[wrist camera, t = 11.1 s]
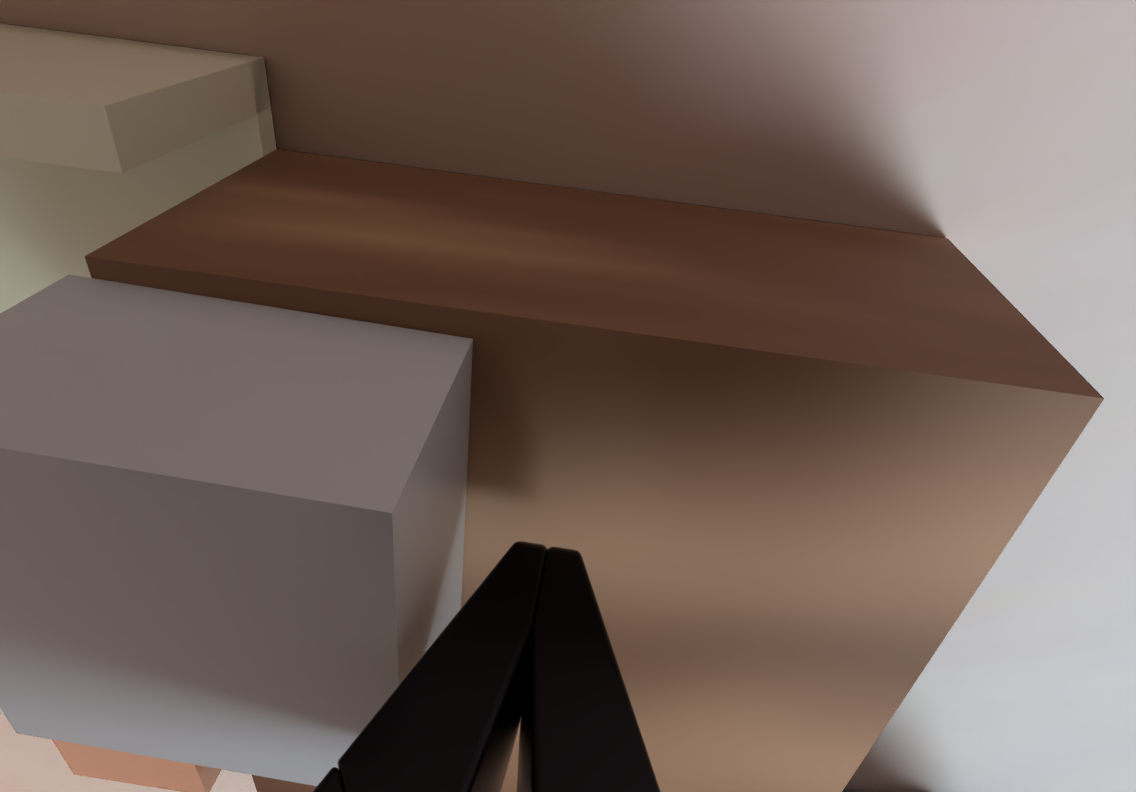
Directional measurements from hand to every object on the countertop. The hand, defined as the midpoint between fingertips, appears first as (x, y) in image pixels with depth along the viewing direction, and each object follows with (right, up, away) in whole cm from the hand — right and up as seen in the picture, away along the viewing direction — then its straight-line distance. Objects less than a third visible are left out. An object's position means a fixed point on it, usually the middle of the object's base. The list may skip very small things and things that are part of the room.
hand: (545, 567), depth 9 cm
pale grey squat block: (-4, +1, +1) cm, 4 cm away
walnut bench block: (0, 0, +7) cm, 7 cm away
